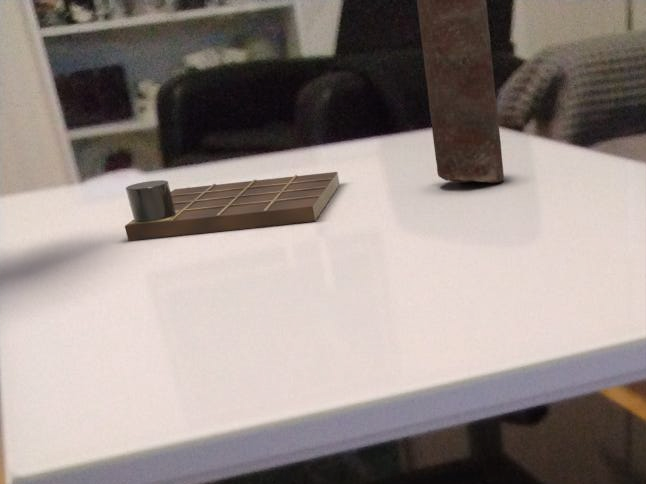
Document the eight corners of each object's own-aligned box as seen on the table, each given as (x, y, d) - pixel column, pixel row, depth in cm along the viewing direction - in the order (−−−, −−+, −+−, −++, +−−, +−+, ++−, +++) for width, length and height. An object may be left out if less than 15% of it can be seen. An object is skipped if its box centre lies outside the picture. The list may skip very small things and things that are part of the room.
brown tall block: (454, 193, 111) (431, -25, 100) (426, 185, 116) (401, -22, 105) (515, 181, 113) (500, -34, 102) (485, 174, 119) (467, -31, 108)
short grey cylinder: (129, 223, 107) (119, 190, 105) (141, 214, 110) (132, 182, 109) (170, 219, 106) (161, 186, 105) (180, 210, 110) (172, 178, 108)
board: (128, 240, 107) (123, 224, 106) (177, 202, 124) (173, 188, 123) (315, 221, 106) (312, 205, 105) (339, 185, 123) (337, 170, 122)
